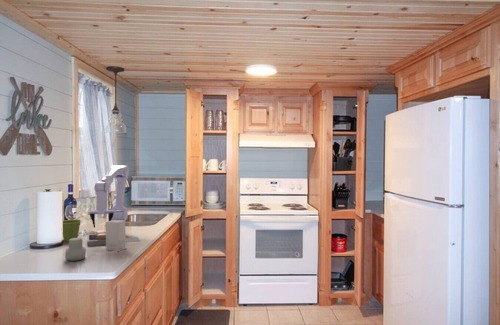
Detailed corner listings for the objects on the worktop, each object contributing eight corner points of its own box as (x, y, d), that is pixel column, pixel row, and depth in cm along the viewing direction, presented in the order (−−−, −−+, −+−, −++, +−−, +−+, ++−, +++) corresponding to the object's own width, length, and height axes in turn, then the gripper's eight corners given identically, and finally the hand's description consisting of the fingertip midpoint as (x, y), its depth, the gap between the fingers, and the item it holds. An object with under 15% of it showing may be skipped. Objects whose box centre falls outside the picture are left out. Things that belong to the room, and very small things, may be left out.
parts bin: (87, 240, 218) (87, 234, 218) (113, 238, 223) (113, 233, 223) (87, 247, 202) (87, 241, 202) (115, 244, 207) (115, 239, 207)
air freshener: (84, 261, 175) (84, 240, 174) (64, 263, 172) (64, 242, 171) (85, 255, 185) (85, 236, 185) (67, 257, 182) (67, 237, 182)
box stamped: (97, 242, 210) (97, 233, 210) (105, 242, 212) (105, 233, 212) (97, 244, 206) (97, 235, 206) (105, 243, 208) (106, 234, 208)
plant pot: (74, 237, 225) (74, 218, 225) (85, 240, 218) (85, 221, 218) (55, 240, 215) (55, 221, 215) (65, 243, 209) (65, 223, 208)
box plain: (96, 239, 217) (96, 231, 217) (104, 238, 219) (104, 230, 219) (97, 241, 213) (97, 232, 213) (106, 240, 216) (106, 231, 215)
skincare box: (126, 249, 199) (126, 220, 198) (117, 252, 192) (118, 222, 192) (113, 247, 201) (113, 219, 201) (104, 250, 195) (105, 221, 195)
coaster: (118, 239, 222) (118, 238, 222) (137, 237, 226) (137, 236, 226) (120, 243, 212) (120, 242, 212) (140, 241, 216) (140, 240, 216)
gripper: (87, 204, 202) (87, 228, 202) (115, 203, 208) (115, 227, 208) (87, 202, 208) (87, 226, 209) (115, 201, 214) (114, 225, 214)
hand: (101, 226), depth 209 cm, fingers open, 7 cm apart
